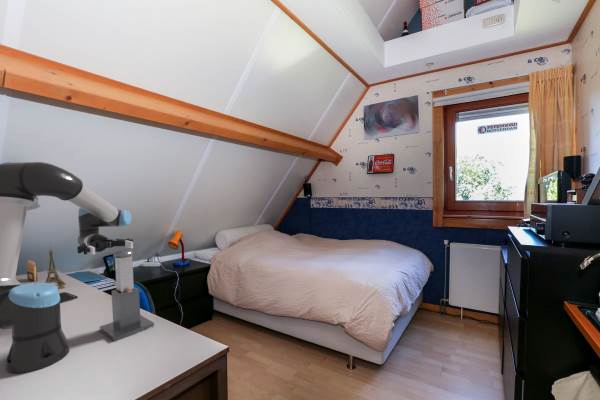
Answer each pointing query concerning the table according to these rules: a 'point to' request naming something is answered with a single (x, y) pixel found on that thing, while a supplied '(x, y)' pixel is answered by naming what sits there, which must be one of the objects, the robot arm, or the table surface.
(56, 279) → the eiffel tower
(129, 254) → the column
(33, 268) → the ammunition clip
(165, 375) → the table surface
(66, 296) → the phone
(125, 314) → the jack stand base
